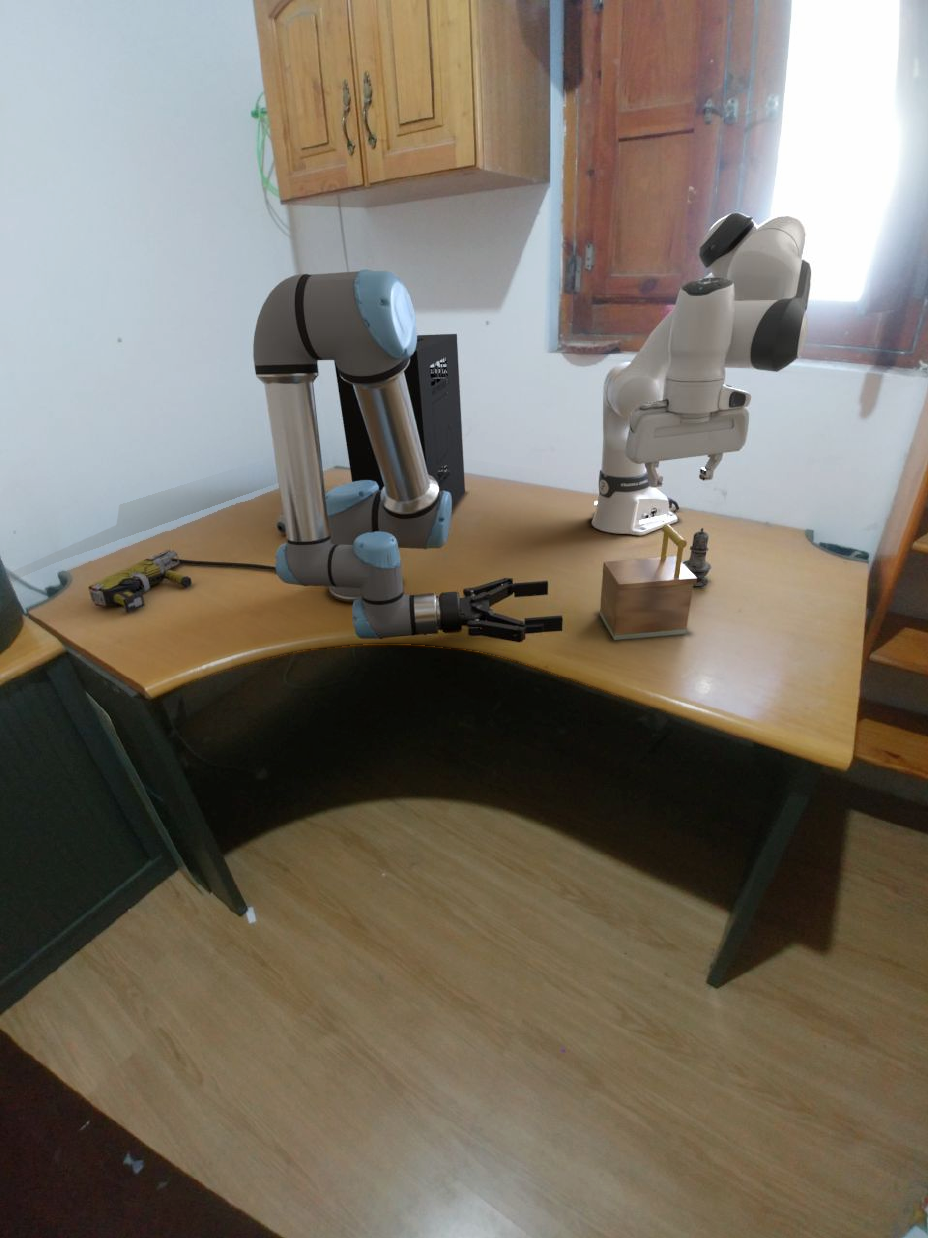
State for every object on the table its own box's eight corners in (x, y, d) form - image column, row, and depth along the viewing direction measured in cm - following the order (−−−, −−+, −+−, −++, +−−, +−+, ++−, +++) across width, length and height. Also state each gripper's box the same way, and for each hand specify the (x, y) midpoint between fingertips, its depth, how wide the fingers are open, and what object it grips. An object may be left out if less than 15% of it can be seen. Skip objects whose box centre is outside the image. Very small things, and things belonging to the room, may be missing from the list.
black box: (432, 538, 157) (416, 350, 135) (359, 535, 162) (333, 353, 139) (465, 491, 189) (456, 333, 166) (403, 490, 193) (387, 336, 171)
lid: (675, 560, 115) (680, 520, 110) (696, 583, 106) (703, 540, 102) (603, 566, 114) (605, 526, 110) (618, 589, 106) (622, 547, 101)
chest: (666, 608, 120) (672, 561, 115) (685, 633, 111) (693, 583, 106) (599, 614, 119) (602, 566, 114) (614, 640, 111) (618, 590, 106)
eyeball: (273, 537, 164) (268, 516, 161) (287, 528, 169) (282, 508, 166) (291, 539, 161) (286, 518, 158) (305, 530, 166) (301, 510, 163)
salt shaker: (710, 587, 126) (720, 533, 120) (681, 586, 127) (688, 532, 121) (706, 574, 131) (715, 522, 125) (678, 573, 132) (685, 522, 126)
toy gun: (215, 558, 145) (165, 547, 149) (137, 600, 125) (81, 586, 129) (218, 575, 148) (168, 564, 152) (142, 619, 128) (87, 605, 131)
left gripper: (438, 599, 123) (542, 591, 123) (443, 669, 101) (568, 659, 102) (436, 565, 119) (542, 558, 120) (439, 630, 97) (569, 620, 98)
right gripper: (641, 407, 90) (633, 496, 97) (761, 393, 94) (744, 480, 101) (622, 400, 96) (615, 485, 103) (735, 387, 99) (722, 470, 106)
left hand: (554, 604), depth 111 cm, fingers open, 13 cm apart
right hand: (680, 482), depth 102 cm, fingers open, 8 cm apart
